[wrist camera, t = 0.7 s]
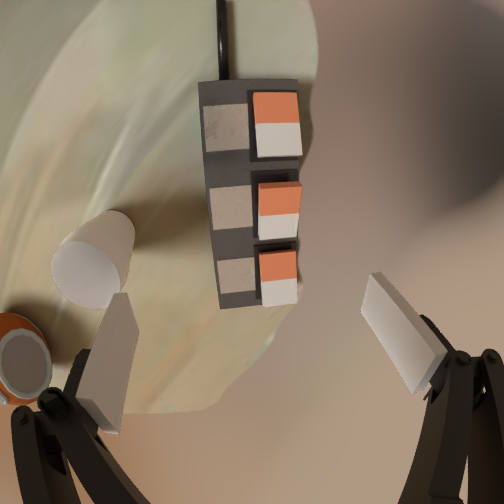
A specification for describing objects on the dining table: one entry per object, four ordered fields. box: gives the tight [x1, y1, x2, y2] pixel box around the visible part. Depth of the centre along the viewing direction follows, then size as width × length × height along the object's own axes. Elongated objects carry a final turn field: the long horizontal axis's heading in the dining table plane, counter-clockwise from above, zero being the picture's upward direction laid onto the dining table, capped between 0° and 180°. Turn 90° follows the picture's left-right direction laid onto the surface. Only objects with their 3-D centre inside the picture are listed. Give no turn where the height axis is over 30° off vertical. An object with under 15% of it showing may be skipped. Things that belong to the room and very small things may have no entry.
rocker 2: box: [258, 181, 302, 240], centre depth 32 cm, size 7×4×1 cm, turn 2°
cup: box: [51, 210, 135, 310], centre depth 31 cm, size 9×9×12 cm
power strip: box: [198, 0, 299, 309], centre depth 32 cm, size 42×11×5 cm, turn 2°
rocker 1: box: [253, 92, 302, 158], centre depth 27 cm, size 7×4×1 cm, turn 2°
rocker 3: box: [259, 249, 297, 307], centre depth 36 cm, size 7×4×1 cm, turn 2°
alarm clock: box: [0, 312, 53, 406], centre depth 35 cm, size 19×18×17 cm
